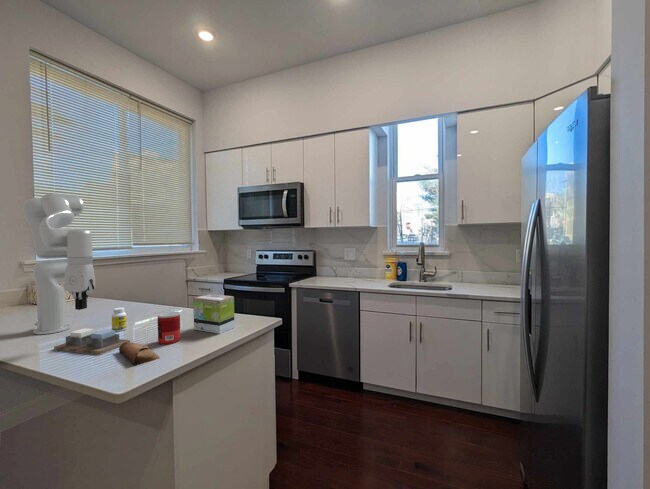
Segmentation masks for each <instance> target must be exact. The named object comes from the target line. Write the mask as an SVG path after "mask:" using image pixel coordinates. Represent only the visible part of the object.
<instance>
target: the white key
mask: <svg viewBox="0 0 650 489" xmlns="http://www.w3.org/2000/svg"><path fill="white" fill-rule="evenodd" d="M94 332H96V331H95V328H88V327H87V328H85V327H84V328H79V329H77V330H73V331H70V334H69V336H70V337H79V338H81V337H84V336H88V335H91V333H94Z"/></svg>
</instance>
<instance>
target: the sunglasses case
mask: <svg viewBox="0 0 650 489" xmlns="http://www.w3.org/2000/svg"><path fill="white" fill-rule="evenodd" d="M118 351H119V353H120V354H122V355H124V357H126V358H127V359H128V360H129V361H130V362H131V363H132V364H133V365H135V366H136V367H137V366H140V365H142V364H147V363H150V362H152V361H156V359H157V360H159V359H161V358H160V356H159V355H158V354H157V353H156V352H155V351H153V350H152V349H150V347H149V346H147V345H146V344H141V343H138V342H131V341H130V342H126V343H123V344H122V345H121V346H120V347H119V348H118Z"/></svg>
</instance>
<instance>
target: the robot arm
mask: <svg viewBox="0 0 650 489" xmlns="http://www.w3.org/2000/svg"><path fill="white" fill-rule="evenodd" d="M22 208H23V209H22V210H23V215H24V218H25V220H26V221H27V224H28V225H29V227H30V229H31V233H32V240H33V247H34V253H35V255H36V257H38V258H39V259H47V260H43V261H39V262H37V263H35V264H34V265H33V268H32V274H33V279H34V283H35V289H36V308H37V309H36V311H37V321H36V322H34V326H36V328H35V329H33V331H32V334H34V335H49V334H56V333H60V332H63V331H67V330H69V329H71V327H72V326H71V324H70V323H67V312H66V310H67V309H66V306H67V305H66V292H68V293H70V294H72V295H73V299H74V303H75V304H74V305H75V306H74V307H75V308H74V309H75V310H78V311H80V310H85V309H87V307H88V298H89V296H90V295H93V294H94V290H95V288H96V276H95V270H94V265H93V261H94V260H93V233H92V231H91V230H89V229H83V228H66V227H68V226H70V225H71V224H72V223H73V222H74V221H75V217H77V216H79V215H81V214H82V213H83V212H84V210H85V203H84V200H83V198H81V197H80V196H78V195H74V194H64V193H46V194H44V195H42V196H41V197H40V198H39V197H34V198H29V199H26V200H25V201H24V203H23V204H22ZM63 258H64V259H63ZM50 259H53V260H50ZM54 259H56V260H54ZM57 259H58V260H57ZM60 259H61V260H60ZM58 282H64V284H63V285H64V286H62V285H61V284H59V283H58Z"/></svg>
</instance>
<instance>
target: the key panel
mask: <svg viewBox="0 0 650 489" xmlns="http://www.w3.org/2000/svg"><path fill="white" fill-rule="evenodd" d="M126 342H130V343H131V340H130V339H124V338H123V339H122V338H120V333H115V335H113V336H110V337H108V338H105V339H102V340H101V339H91V335H88V336H84V337H81V338H79V337H70V335H69V336H65V342H64V343H60V344H58V345H55V346H53V350H54V351H62V352H72V353H81V354H88V355H89V354H90V355H98V356H99V355H101V356H102V355H103V354H106V353H108V352H111V351H113V350H114V351H115V350H116V349H119V348H120V346H121V345H122V344H123V343H126Z"/></svg>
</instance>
